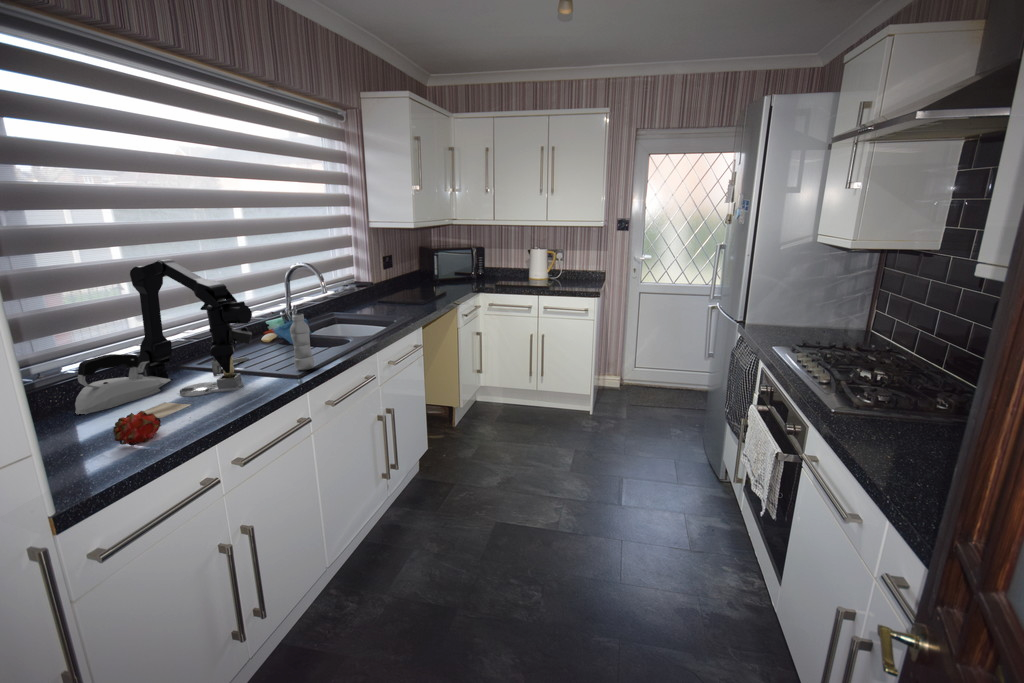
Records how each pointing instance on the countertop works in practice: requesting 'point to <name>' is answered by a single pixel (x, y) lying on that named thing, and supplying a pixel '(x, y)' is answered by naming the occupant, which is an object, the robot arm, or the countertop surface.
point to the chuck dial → (213, 386)
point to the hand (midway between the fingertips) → (228, 371)
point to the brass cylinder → (231, 374)
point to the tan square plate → (165, 409)
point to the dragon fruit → (136, 428)
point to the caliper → (217, 367)
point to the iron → (114, 383)
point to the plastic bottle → (301, 343)
